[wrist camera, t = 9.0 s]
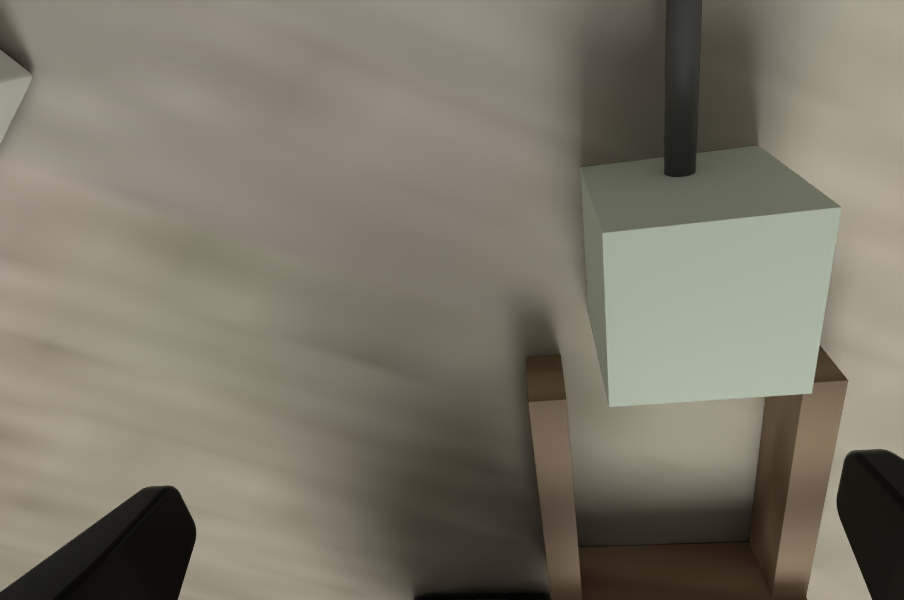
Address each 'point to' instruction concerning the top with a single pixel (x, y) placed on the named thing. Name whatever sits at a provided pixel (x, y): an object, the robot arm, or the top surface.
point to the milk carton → (11, 90)
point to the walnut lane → (706, 564)
